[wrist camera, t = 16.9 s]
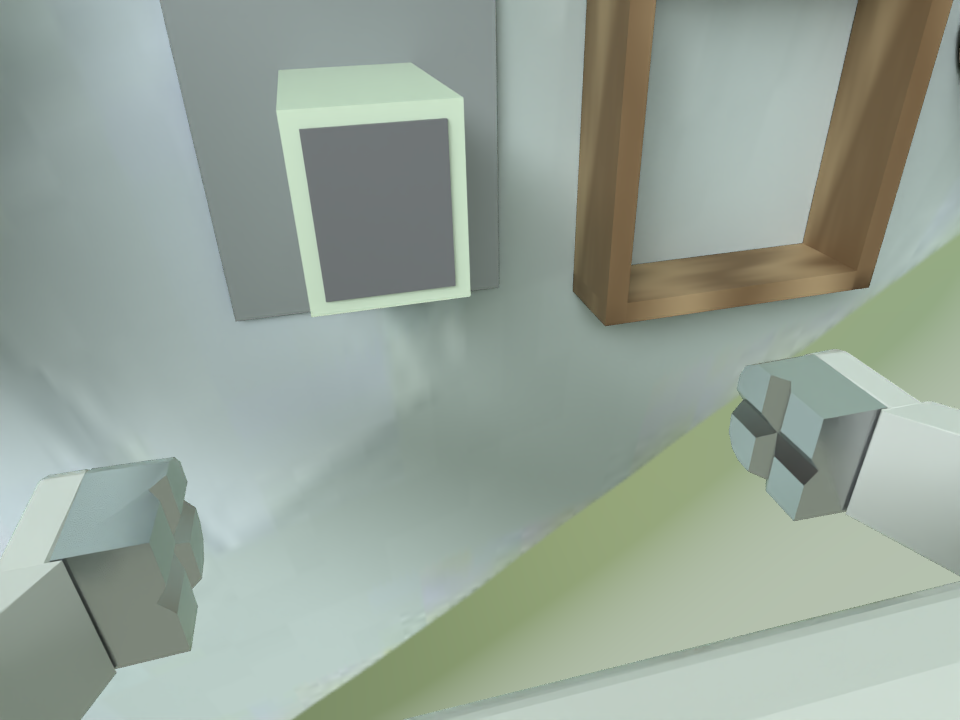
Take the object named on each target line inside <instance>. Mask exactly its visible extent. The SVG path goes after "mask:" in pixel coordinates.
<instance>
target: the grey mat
mask: <svg viewBox="0 0 960 720" xmlns="http://www.w3.org/2000/svg"><path fill="white" fill-rule="evenodd" d="M160 4H161V8H162V13H163V17H164V21H165V25H166V29H167V34H168V38H169V42H170V46H171V51H172V55H173V59H174V63H175V67H176V72H177V76H178V80H179V84H180V89H181V93H182V97H183V101H184V105H185V110H186V114H187V118H188V122H189V126H190V131H191V135H192V139H193V143H194V148H195V152H196V156H197V160H198V164H199V169H200V173H201V177H202V181H203V186H204V190H205V194H206V198H207V202H208V207H209V211H210V215H211V219H212V224H213V228H214V232H215V236H216V240H217V245H218V249H219V253H220V257H221V261H222V266H223V270H224V274H225V278H226V283H227V287H228V291H229V295H230V299H231V304H232V308H233V312H234V316H235V321H243V320H251V319H259V318H266V317H274V316H282V315H289V314H297V313H305V312H311V311H310V305H309V300H308V294H307V288H306V282H305V276H304V270H303V265H302V259H301V253H300V247H299V241H298V235H297V230H296V224H295V218H294V212H293V206H292V201H291V195H290V189H289V183H288V177H287V171H286V166H285V160H284V154H283V148H282V142H281V137H280V131H279V125H278V119H277V113H276V103H277V87H278V70H287V69H305V68H322V67H340V66H357V65H375V64H392V63H410V62H411V63H413V64H414V65H416V66H417V67H419V68H420V69H422V70H423V71H425V72H426V73H428V74H429V75H430V76H432V77H433V78H435V79H436V80H438V81H439V82H441V83H442V84H444V85H445V86H447V87H448V88H450V89H451V90H453V91H454V92H456V93H457V94H459V95H460V96H462V97H463V100H464V127H465V155H466V182H467V210H468V237H469V265H470V291H475V290H483V289H490V288H498V287H499V236H498V156H497V76H496V0H160Z"/></svg>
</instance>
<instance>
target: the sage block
mask: <svg viewBox="0 0 960 720" xmlns="http://www.w3.org/2000/svg"><path fill="white" fill-rule="evenodd" d="M276 113H277V119H278V125H279V131H280V137H281V142H282V148H283V154H284V160H285V166H286V171H287V177H288V183H289V189H290V195H291V201H292V206H293V212H294V218H295V224H296V230H297V235H298V241H299V247H300V253H301V259H302V265H303V270H304V276H305V282H306V288H307V294H308V300H309V305H310V311H311V317H318V316H325V315H333V314H341V313H348V312H356V311H364V310H371V309H379V308H386V307H394V306H402V305H409V304H417V303H425V302H432V301H440V300H447V299H455V298H463V297H470V296H471V293H470V265H469V237H468V210H467V182H466V155H465V127H464V100H463V97H462V96H460V95H459V94H457V93H456V92H454V91H453V90H451V89H450V88H448V87H447V86H445V85H444V84H442V83H441V82H439V81H438V80H436V79H435V78H433V77H432V76H430V75H429V74H428V73H426V72H425V71H423V70H422V69H420V68H419V67H417V66H416V65H414V64H413V63H411V62H410V63H392V64H375V65H357V66H340V67H322V68H305V69H287V70H278V87H277V103H276Z"/></svg>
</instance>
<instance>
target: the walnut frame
mask: <svg viewBox="0 0 960 720" xmlns="http://www.w3.org/2000/svg"><path fill="white" fill-rule="evenodd" d="M952 3H953V0H859V1H858V5H857V9H856V14H855V18H854V22H853V27H852V31H851V35H850V40H849V44H848V48H847V53H846V57H845V61H844V66H843V70H842V74H841V79H840V83H839V88H838V92H837V96H836V101H835V105H834V109H833V114H832V118H831V122H830V127H829V131H828V135H827V140H826V144H825V148H824V153H823V157H822V161H821V166H820V170H819V174H818V179H817V183H816V188H815V192H814V196H813V201H812V205H811V209H810V214H809V218H808V222H807V227H806V231H805V235H804V240H803V243H801V244H793V245H785V246H777V247H769V248H762V249H754V250H746V251H738V252H730V253H722V254H715V255H707V256H699V257H691V258H683V259H675V260H668V261H660V262H652V263H644V264H636V265H631V261H632V250H633V240H634V229H635V219H636V208H637V198H638V187H639V177H640V166H641V156H642V145H643V134H644V124H645V113H646V103H647V92H648V82H649V71H650V61H651V50H652V40H653V29H654V18H655V8H656V0H587V9H586V30H585V51H584V71H583V92H582V112H581V133H580V154H579V174H578V195H577V215H576V236H575V257H574V277H573V292H574V293H575V294H576V295H577V296H578V297H579V298H580V299H581V300H582V302H583V303H584V304H585V305H586V306H587V307H588V308H589V309H590V310H591V311H592V312H593V313H594V315H595V316H596V317H597V318H598V319H599V320H600V321H601V322H602V323H603V324H604V325H605V326H609V325H616V324H623V323H630V322H637V321H643V320H650V319H657V318H664V317H671V316H678V315H684V314H691V313H698V312H705V311H712V310H718V309H725V308H732V307H739V306H746V305H753V304H759V303H766V302H773V301H780V300H787V299H794V298H800V297H807V296H814V295H821V294H828V293H834V292H841V291H848V290H855V289H862V288H869V286H870V282H871V279H872V275H873V272H874V269H875V265H876V262H877V258H878V255H879V251H880V248H881V245H882V241H883V238H884V234H885V231H886V228H887V224H888V221H889V217H890V214H891V211H892V207H893V204H894V200H895V197H896V193H897V190H898V187H899V183H900V180H901V176H902V173H903V170H904V166H905V163H906V159H907V156H908V153H909V149H910V146H911V142H912V139H913V136H914V132H915V129H916V125H917V122H918V118H919V115H920V112H921V108H922V105H923V101H924V98H925V95H926V91H927V88H928V84H929V81H930V78H931V74H932V71H933V67H934V64H935V60H936V57H937V54H938V50H939V47H940V43H941V40H942V37H943V33H944V30H945V26H946V23H947V20H948V16H949V13H950V9H951V6H952Z"/></svg>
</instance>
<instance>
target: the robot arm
mask: <svg viewBox="0 0 960 720" xmlns="http://www.w3.org/2000/svg"><path fill="white" fill-rule="evenodd" d="M737 390H738V392H739V394H740V395H741V397H742V399H743V401H742V402H741V403H740V404H739V405H738V407H737V408H736V409H735V410H734V411H733V413H732V415H731V422H730V428H729V435H730V439H731V445H732V449H733V451H734V453H735V455H736V457H737V459H738V461H739V462H741V464H742V465H743V466H744V467H745V469H746V470H747V471H749V472H750V473H753V474H755V475H757V476H760V477H762V478H764V479H766V492H767V493H768V494H769V495H770V496H771V497H772V498H773V499H774V500H775V501H776V502H777V503H778V505H779V506H780V507H781V508H782V509H783V510H784V511H785V512H786V513H787V514H788V515H789V516H790V517H791V518H792V520H793V521H797V520H802V519H808V518H813V517H818V516H824V515H829V514H834V513H840V512H846V515H848V516H850V517H851V518H853V519H855V520H857V521H859V522H861V523H863V524H864V525H867V526H868V527H870V528H872V529H874V530H875V531H877V532H879V533H881V534H883V535H885V536H887V537H888V538H890V539H892V540H894V541H896V542H898V543H899V544H901V545H903V546H905V547H907V548H909V549H911V550H913V551H914V552H916V553H918V554H920V555H922V556H923V557H925V558H927V559H929V560H931V561H933V562H935V563H936V564H938V565H940V566H942V567H944V568H946V569H947V570H950V571H951V572H953V573H955V574H957V575H959V576H960V409H956V408H953V407H950V406H946V405H943V404H939V403H936V402H933V401H927V402H920V401H919V400H917V399H916V398H914V397H913V396H911V395H910V394H908V393H907V392H905V391H904V390H903V389H901V388H900V387H898V386H896V385H895V384H894V383H892V382H891V381H889V380H888V379H886V378H885V377H883V376H882V375H880V374H879V373H877V372H876V371H874V370H873V369H871V368H870V367H868V366H867V365H865V364H864V363H863V362H861V361H860V360H858V359H856V358H855V357H854V356H852V355H851V354H849V353H848V352H846V351H842V350H838V349H832V350H827V351H822V352H816V353H811V354H806V355H805V356H800V357H794V358H788V359H782V360H776V361H771V362H765V363H759V364H753V365H747V366H746V367H745V368H744V370H743V371H742V373H741V374H740V377H739V382H738V386H737ZM186 486H187V479H186V477H185V474H184V471H183V468H182V466H181V463H180V461H178V460H177V459H176V458H175V457H170V458H163V459H156V460H149V461H142V462H134V463H127V464H120V465H113V466H106V467H99V468H92V469H91V470H88V469H85V470H79V471H73V472H66V473H60V474H54V475H48V476H47V477H45V478H43V479H42V480H40V481H39V483H38V484H37V486H36V488H35V490H34V492H33V494H32V496H31V498H30V500H29V502H28V504H27V506H26V508H25V510H24V512H23V514H22V516H21V518H20V520H19V522H18V524H17V526H16V528H15V530H14V532H13V534H12V536H11V538H10V540H9V543H8V545H7V547H6V549H5V551H4V553H3V555H2V557H1V559H0V720H81V719H82V717H83V716H84V715H85V713H86V712H87V711H88V709H89V708H90V707H91V705H92V704H93V703H94V702H95V700H96V699H97V698H98V696H99V695H100V694H101V692H102V691H103V690H104V688H105V687H106V686H107V685H108V683H109V682H110V681H111V679H112V678H113V677H114V675H115V674H116V670H115V669H117V668H122V667H126V666H130V665H134V664H138V663H142V662H146V661H151V660H155V659H159V658H163V657H167V656H171V655H175V654H179V653H184V652H188V651H191V647H192V641H193V634H194V628H195V621H196V615H197V608H198V605H197V603H196V600H195V597H194V594H193V591H192V589H193V588H194V586H195V585H196V584H197V583H198V582H199V581H200V580H201V579H202V573H203V565H204V544H203V535H202V529H201V524H200V520H199V517H198V513H197V510H196V508H195V507H194V506H192V505H191V504H189V503H188V502H186V501H185V500H184V497H185V491H186ZM404 720H960V581H959V582H954V583H950V584H946V585H943V586H939V587H934V588H930V589H926V590H923V591H918V592H914V593H910V594H906V595H902V596H898V597H894V598H890V599H886V600H882V601H878V602H874V603H870V604H866V605H862V606H858V607H854V608H850V609H846V610H842V611H838V612H834V613H830V614H826V615H822V616H818V617H814V618H810V619H806V620H802V621H798V622H794V623H790V624H786V625H782V626H777V627H774V628H770V629H766V630H762V631H757V632H753V633H749V634H746V635H741V636H738V637H733V638H729V639H726V640H721V641H717V642H713V643H709V644H705V645H702V646H698V647H693V648H689V649H685V650H681V651H677V652H673V653H669V654H665V655H661V656H657V657H653V658H649V659H645V660H641V661H637V662H633V663H629V664H625V665H621V666H617V667H613V668H609V669H605V670H601V671H597V672H593V673H589V674H585V675H580V676H576V677H572V678H569V679H565V680H560V681H556V682H552V683H548V684H544V685H540V686H537V687H532V688H528V689H524V690H520V691H516V692H512V693H508V694H504V695H500V696H496V697H492V698H488V699H484V700H480V701H476V702H472V703H468V704H464V705H460V706H456V707H452V708H448V709H444V710H440V711H436V712H432V713H428V714H424V715H420V716H416V717H412V718H408V719H404Z"/></svg>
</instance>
